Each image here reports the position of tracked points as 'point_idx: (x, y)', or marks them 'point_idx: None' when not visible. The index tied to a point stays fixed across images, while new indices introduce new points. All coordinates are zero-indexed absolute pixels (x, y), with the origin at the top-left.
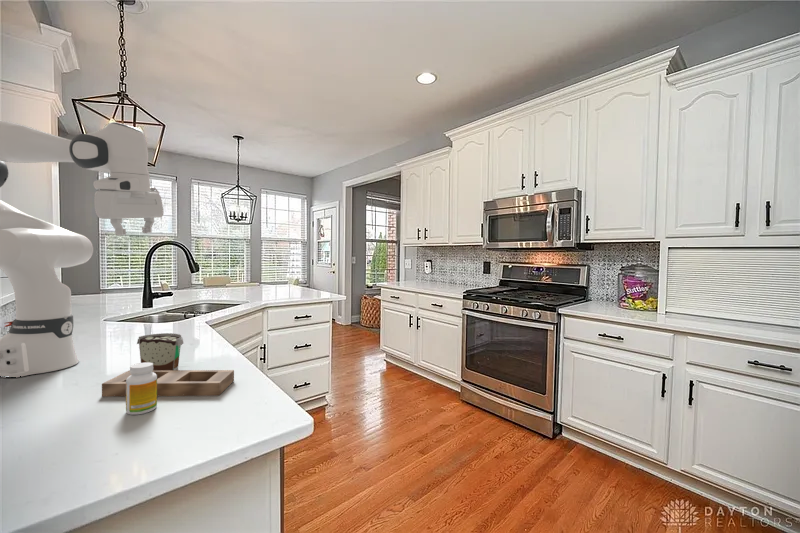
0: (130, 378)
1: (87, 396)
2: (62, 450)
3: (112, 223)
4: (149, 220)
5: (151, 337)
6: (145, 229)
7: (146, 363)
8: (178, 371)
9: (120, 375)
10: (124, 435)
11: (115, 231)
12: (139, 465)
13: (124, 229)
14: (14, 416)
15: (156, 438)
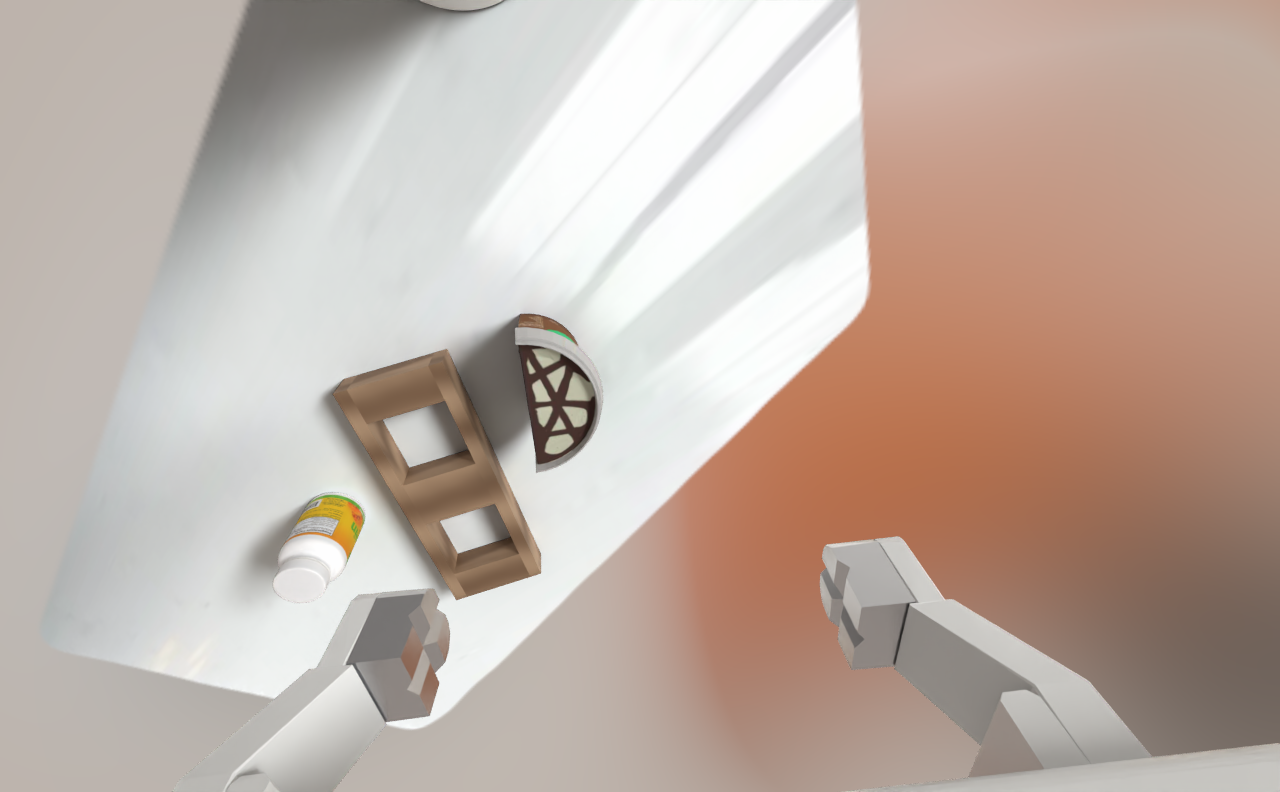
0: (280, 564)
1: (328, 345)
2: (159, 534)
3: (211, 778)
4: (983, 775)
5: (554, 356)
6: (848, 611)
7: (313, 585)
8: (485, 480)
9: (399, 379)
10: (249, 569)
11: (336, 633)
12: (206, 649)
13: (411, 710)
14: (163, 307)
15: (271, 613)
